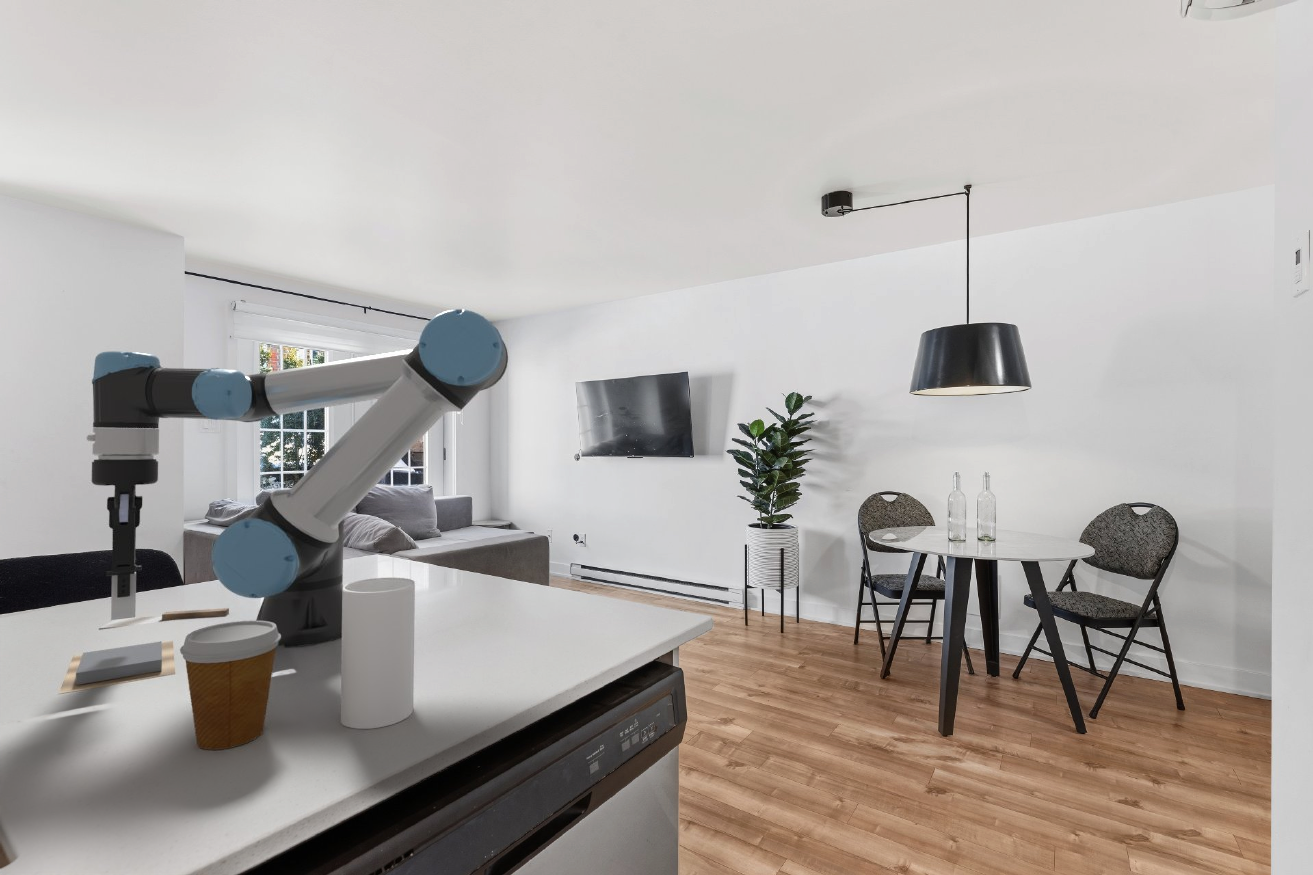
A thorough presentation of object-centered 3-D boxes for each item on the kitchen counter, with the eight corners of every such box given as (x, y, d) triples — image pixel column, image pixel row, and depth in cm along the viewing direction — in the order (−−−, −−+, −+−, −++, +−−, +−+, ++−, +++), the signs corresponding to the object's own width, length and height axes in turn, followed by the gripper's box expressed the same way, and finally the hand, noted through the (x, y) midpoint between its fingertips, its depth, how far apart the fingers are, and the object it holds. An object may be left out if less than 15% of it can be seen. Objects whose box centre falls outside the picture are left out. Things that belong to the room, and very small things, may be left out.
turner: (232, 613, 122) (232, 605, 122) (221, 622, 117) (221, 613, 117) (115, 621, 117) (115, 612, 117) (98, 630, 111) (98, 621, 111)
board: (73, 659, 96) (73, 655, 96) (172, 644, 103) (172, 640, 103) (58, 698, 82) (58, 693, 82) (175, 677, 89) (175, 673, 89)
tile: (83, 652, 92) (76, 673, 84) (161, 641, 98) (161, 659, 90) (82, 664, 92) (75, 686, 84) (161, 652, 98) (161, 671, 90)
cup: (367, 735, 73) (369, 595, 73) (326, 718, 77) (328, 586, 77) (427, 710, 80) (429, 582, 80) (386, 695, 84) (388, 574, 84)
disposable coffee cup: (212, 719, 76) (213, 619, 76) (294, 717, 77) (296, 618, 77) (156, 759, 67) (158, 645, 67) (251, 756, 68) (253, 643, 68)
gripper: (95, 456, 96) (92, 611, 96) (88, 459, 86) (85, 632, 86) (158, 456, 101) (155, 604, 101) (158, 458, 91) (155, 623, 91)
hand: (123, 617), depth 94 cm, fingers closed
